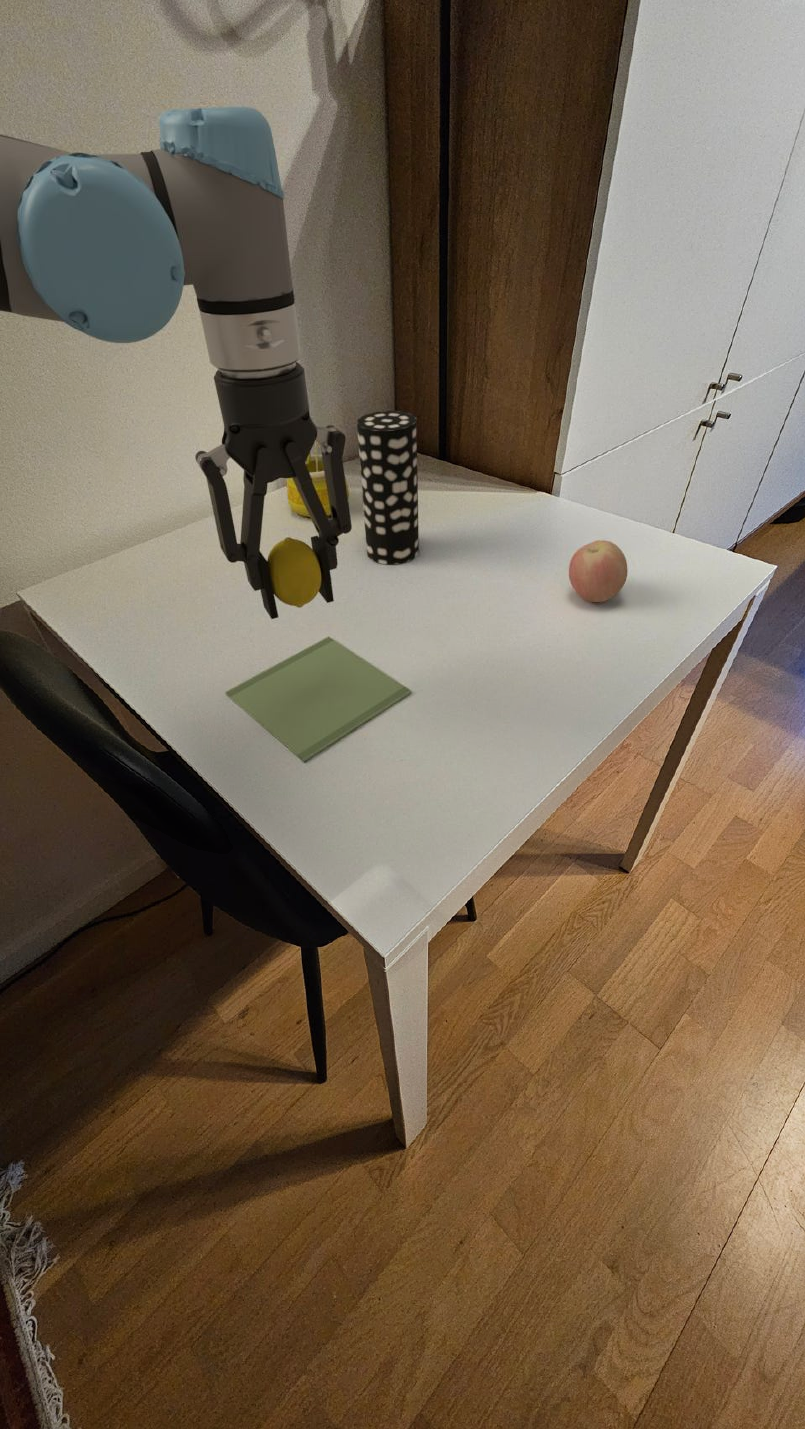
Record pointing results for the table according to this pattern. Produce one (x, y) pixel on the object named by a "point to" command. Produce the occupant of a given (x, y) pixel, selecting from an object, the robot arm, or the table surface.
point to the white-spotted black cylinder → (389, 485)
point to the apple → (598, 571)
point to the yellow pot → (318, 481)
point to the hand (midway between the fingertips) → (298, 603)
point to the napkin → (317, 697)
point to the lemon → (294, 572)
